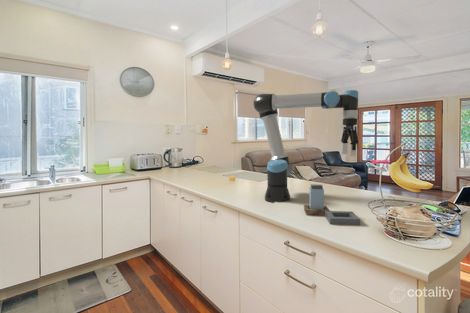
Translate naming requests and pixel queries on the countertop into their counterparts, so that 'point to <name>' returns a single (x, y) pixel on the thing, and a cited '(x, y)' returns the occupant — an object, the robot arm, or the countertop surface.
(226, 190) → the countertop surface
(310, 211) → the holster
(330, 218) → the port
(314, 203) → the plug
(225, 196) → the countertop surface
